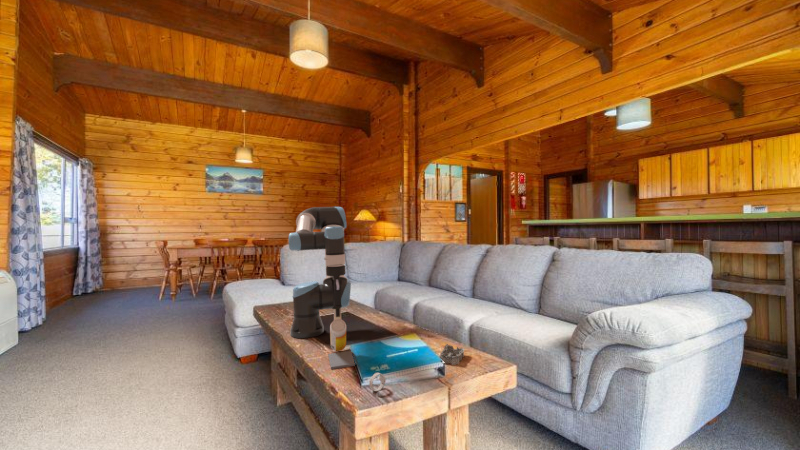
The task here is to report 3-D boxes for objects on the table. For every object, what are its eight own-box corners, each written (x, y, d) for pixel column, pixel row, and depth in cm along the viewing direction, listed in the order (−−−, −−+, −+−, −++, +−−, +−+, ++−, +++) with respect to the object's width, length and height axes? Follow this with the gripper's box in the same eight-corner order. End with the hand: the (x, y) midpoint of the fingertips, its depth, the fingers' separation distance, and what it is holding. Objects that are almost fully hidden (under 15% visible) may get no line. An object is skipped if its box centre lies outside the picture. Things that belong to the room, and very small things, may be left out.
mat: (328, 355, 138) (328, 353, 138) (351, 352, 140) (351, 350, 140) (331, 369, 125) (331, 367, 125) (356, 365, 128) (356, 363, 128)
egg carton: (447, 353, 137) (447, 342, 137) (466, 356, 134) (466, 345, 134) (437, 363, 127) (437, 352, 127) (457, 366, 124) (457, 355, 124)
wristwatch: (386, 388, 109) (385, 372, 109) (373, 394, 106) (373, 378, 106) (380, 385, 111) (379, 369, 111) (367, 391, 108) (367, 375, 108)
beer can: (349, 343, 144) (349, 323, 134) (339, 355, 140) (339, 335, 130) (337, 335, 146) (337, 315, 136) (327, 346, 142) (326, 326, 132)
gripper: (324, 264, 148) (327, 321, 148) (327, 267, 135) (329, 330, 135) (343, 262, 150) (345, 319, 150) (347, 266, 137) (349, 327, 137)
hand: (337, 324), depth 143 cm, fingers closed
